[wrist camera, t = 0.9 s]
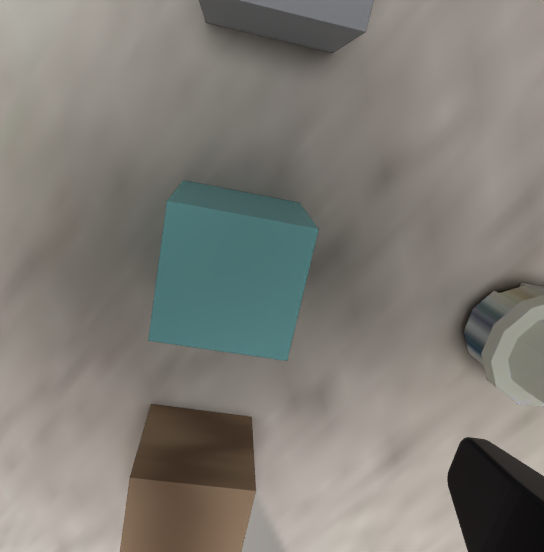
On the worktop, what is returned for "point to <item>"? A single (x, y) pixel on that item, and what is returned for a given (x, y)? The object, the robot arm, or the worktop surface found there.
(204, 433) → the walnut block
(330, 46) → the charcoal block
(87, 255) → the worktop surface
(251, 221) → the teal block
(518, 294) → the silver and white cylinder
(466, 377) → the worktop surface
